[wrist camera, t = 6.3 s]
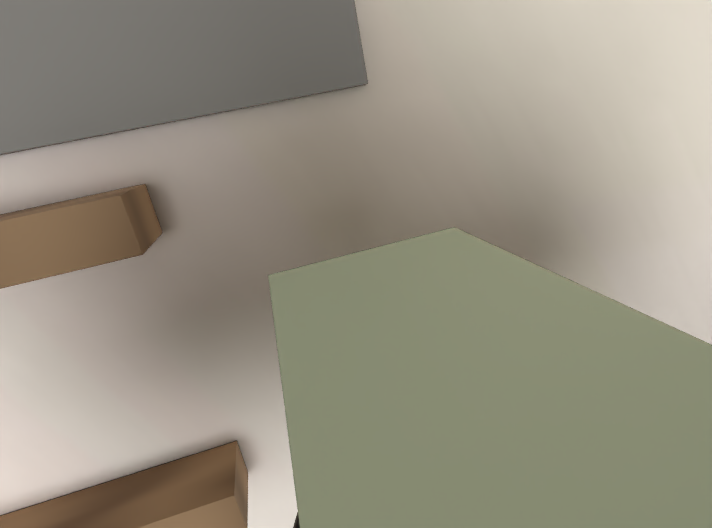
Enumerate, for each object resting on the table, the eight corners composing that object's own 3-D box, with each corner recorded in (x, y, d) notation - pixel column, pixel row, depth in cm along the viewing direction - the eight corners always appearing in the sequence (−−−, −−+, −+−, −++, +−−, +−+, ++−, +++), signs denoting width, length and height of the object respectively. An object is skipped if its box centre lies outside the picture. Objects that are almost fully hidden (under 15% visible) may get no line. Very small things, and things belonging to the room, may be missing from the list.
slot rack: (144, 183, 12) (120, 194, 10) (247, 472, 16) (247, 529, 14) (-264, 270, 11) (-406, 308, 8) (-46, 569, 14) (-104, 653, 12)
